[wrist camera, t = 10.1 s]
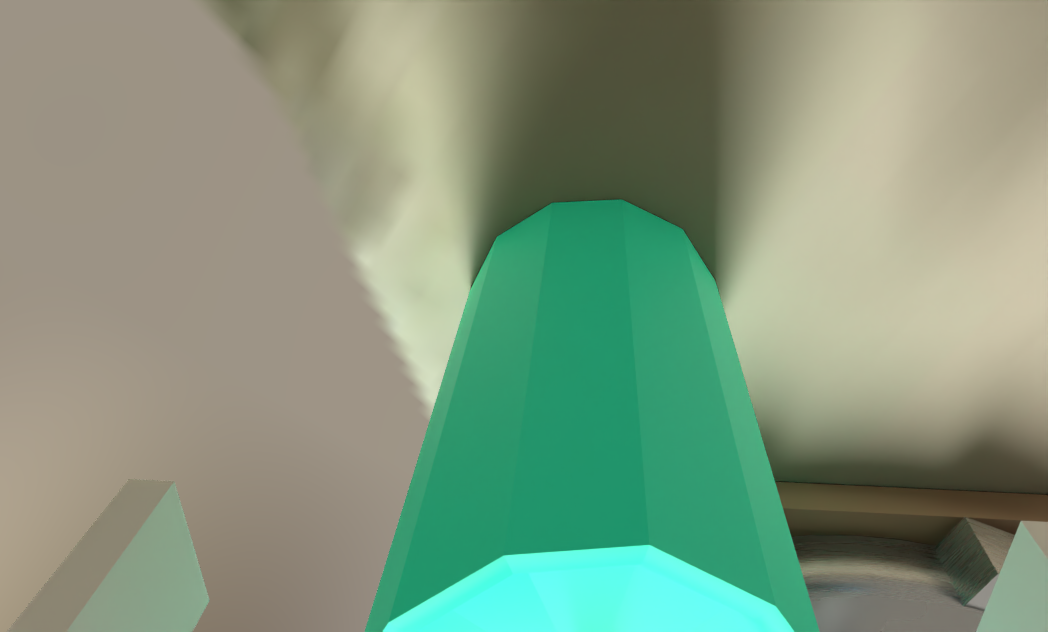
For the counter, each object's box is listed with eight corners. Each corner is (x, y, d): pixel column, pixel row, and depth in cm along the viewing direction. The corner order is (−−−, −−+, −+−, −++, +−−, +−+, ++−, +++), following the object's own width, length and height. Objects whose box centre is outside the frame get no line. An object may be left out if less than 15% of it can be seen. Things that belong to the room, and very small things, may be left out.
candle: (420, 318, 19) (206, 850, 9) (584, 142, 16) (563, 592, 6) (598, 450, 21) (599, 1033, 10) (772, 308, 18) (1011, 891, 8)
